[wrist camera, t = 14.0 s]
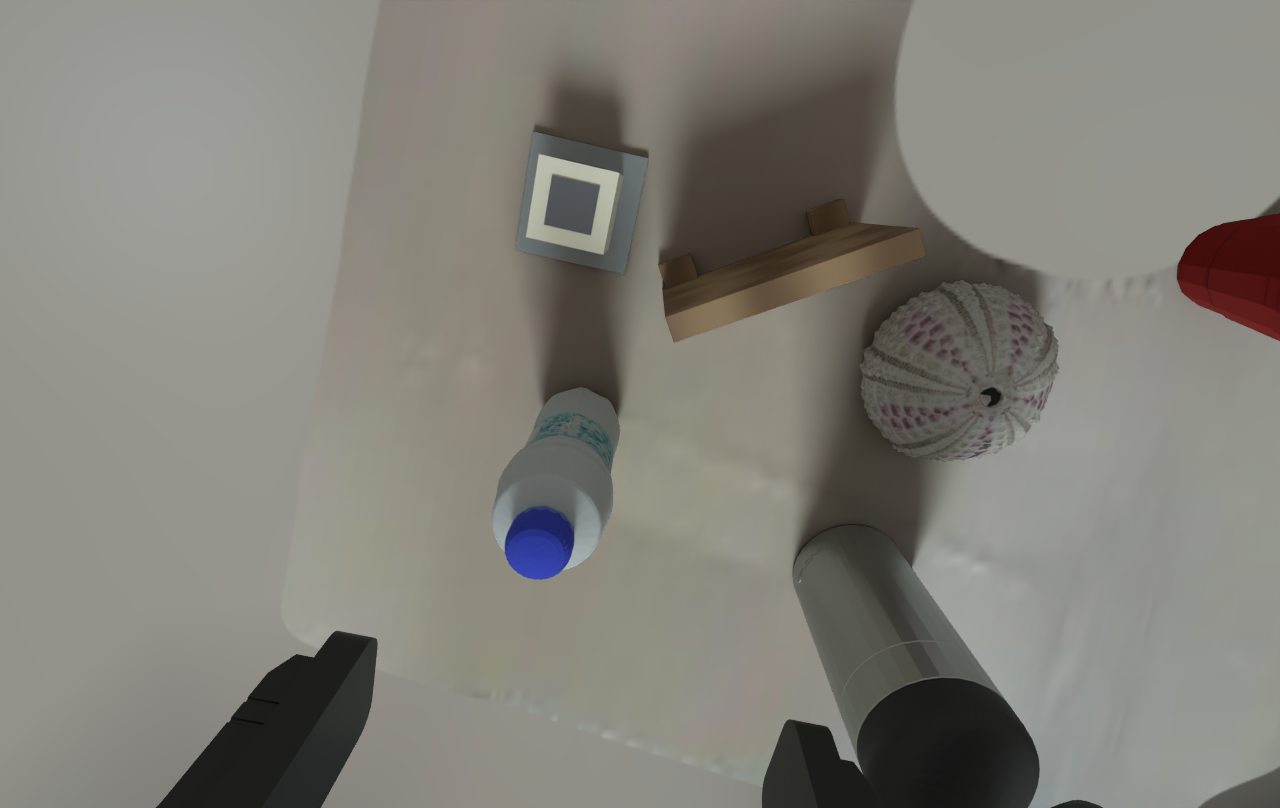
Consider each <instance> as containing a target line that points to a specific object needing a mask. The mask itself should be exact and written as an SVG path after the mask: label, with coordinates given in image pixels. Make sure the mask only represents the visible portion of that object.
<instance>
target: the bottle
mask: <svg viewBox="0 0 1280 808" xmlns="http://www.w3.org/2000/svg"><path fill="white" fill-rule="evenodd" d="M619 434H620V426H619V421H618V418H617V415H616V413H615V410H614V408H613V406H612V404H611V403H610V401H609V400H608V399H606V398H604V397H602V396H600V395H598V394H596V393H594V392H592V391H590V390H589V389H587V388H583V387H579V388H575V389H572V390H567V391H564V392H561V393H557V394H555V395H554V396H552V397H551V398H550V399H549V400H548V401H547V403H546V404H545V405H544V407H543V408H542V410H541V411H540V413H539V415H538V417H537V420H536V423H535V426H534V429H533V432H532V434H531V436H530V438H529V439H528V441H527V443H526V445H525V447H524V448H523V449H521V450H520V451H519V452H518V453H517V454H516V455H515V456H514V457H513V459H512V460H511V461H510V463H509V464H508V465H507V467H506V468H505V469H504V471H503V473H502V475H501V477H500V480H499V483H498V488H497V495H496V499H495V503H494V507H493V511H492V528H493V531H494V535H495V538H496V540H497V542H498V544H499V546H500V547H501V548H502V549H503V551H504V552H505V555H506V557H507V560H508V562H509V564H510V566H511V567H512V568H513V569H514V570H515V571H516V572H517V573H519V574H521V575H522V576H524V577H527V578H531V579H548V578H550V577H553V576H554V575H556V574H558V573H559V572H561V571H563V570H566V569H569V568H572V567H574V566H576V565H578V564H580V563H581V562H582V561H584V560H585V559H586V558H588V557H589V556H590V554H591V553H592V552H593V550H594V549H595V548H596V546H597V544H598V542H599V539H600V537H601V535H602V532H603V530H604V527H605V526H606V524H607V522H608V520H609V518H610V515H611V512H612V506H613V484H612V479H611V475H610V474H611V468H612V462H613V457H614V454H615V451H616V448H617V445H618V441H619Z"/></svg>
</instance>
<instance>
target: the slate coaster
mask: <svg viewBox="0 0 1280 808" xmlns="http://www.w3.org/2000/svg"><path fill="white" fill-rule="evenodd" d="M539 154H541V155H545V156H550V157H554V158H558V157H559V158H563V159H567V160H572V161H576V162H580V163H584V164H589V165H593V166H597V167H601V168H605V169H606V170H609V171H613V172H618V173H620V174H621V175H622V176H623V180H622V185H621V190H620V195H619V200H618V205H617V210H616V215H615V220H614V225H613V230H612V235H611V240H610V245H609V250H608V251H607V252H606V253H604V254H603V255H602V254H598V253H593V252H589V251H585V250H580V249H576V248H571V247H567V246H563V245H558V244H554V243H550V242H545V241H541V240H536V239H532V238H528V237H526V233H527V227H528V221H529V214H530V208H531V202H532V195H533V189H534V183H535V176H536V170H537V164H538V157H539ZM647 164H648V158H645V157H640V156H636V155H632V154H628V153H623V152H619V151H615V150H610V149H606V148H602V147H598V146H593V145H589V144H585V143H581V142H576V141H572V140H568V139H563V138H559V137H555V136H551V135H546V134H542V133H538V132H534V131H533V135H532V142H531V149H530V155H529V162H528V169H527V175H526V182H525V188H524V195H523V202H522V208H521V215H520V222H519V228H518V235H517V242H516V248H515V250H517V251H521V252H526V253H530V254H535V255H539V256H544V257H548V258H553V259H557V260H561V261H566V262H570V263H575V264H579V265H584V266H588V267H593V268H597V269H602V270H606V271H611V272H615V273H619V274H625V270H626V265H627V260H628V255H629V250H630V246H631V241H632V236H633V231H634V226H635V221H636V217H637V212H638V207H639V202H640V197H641V193H642V188H643V183H644V178H645V173H646V168H647Z"/></svg>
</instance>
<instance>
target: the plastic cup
mask: <svg viewBox="0 0 1280 808" xmlns="http://www.w3.org/2000/svg"><path fill="white" fill-rule="evenodd" d="M1177 280H1178V283H1179V285H1180V288H1181V291H1182V293H1184V294H1185V295H1186V296H1187V297H1188V298H1189V299H1191V300H1192V301H1194V302H1195V303H1196V304H1198V305H1199V306H1202V307H1204V308H1207V309H1210V310H1212V311H1215V312H1217V313H1220V314H1222V315H1224V316H1225V317H1226V318H1228V319H1230V320H1232V321H1235V322H1237V323H1239V324H1242V325H1244V326H1246V327H1249V328H1251V329H1253V330H1256V331H1258V332H1260V333H1263V334H1265V335H1267V336H1269V337H1272V338H1274V339H1276V340H1279V341H1280V213H1279V214H1273V215H1268V216H1262V217H1258V218H1254V219H1247V220H1240V221H1234V222H1228V223H1223V224H1221V225H1218V226H1214V227H1212V228H1210V229H1209V230H1207V231H1205V232H1203V233H1201V234H1199V235H1198V236H1197V237H1196V238H1195V239H1194V240H1193V241H1192V242H1191V244H1190V245H1189V246H1188V247H1187V248H1186V249H1185V251H1184V254H1183V256H1182V257H1181V260H1180V262H1179V264H1178V275H1177Z"/></svg>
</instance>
